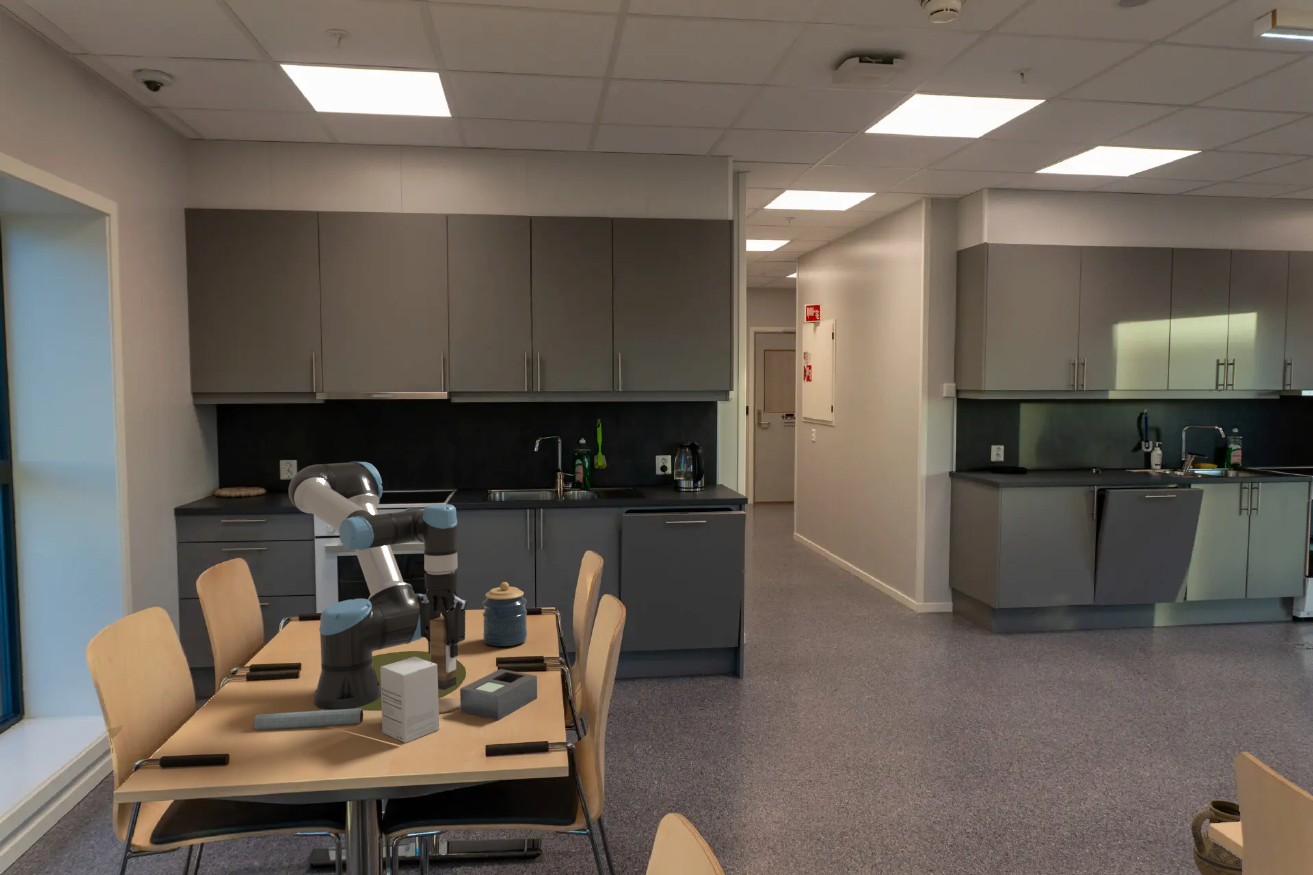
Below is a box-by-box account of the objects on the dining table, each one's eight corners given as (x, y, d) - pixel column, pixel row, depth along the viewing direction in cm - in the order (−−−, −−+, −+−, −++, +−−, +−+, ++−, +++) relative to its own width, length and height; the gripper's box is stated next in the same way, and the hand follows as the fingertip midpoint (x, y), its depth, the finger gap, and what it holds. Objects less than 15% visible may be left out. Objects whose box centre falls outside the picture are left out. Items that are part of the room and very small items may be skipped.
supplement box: (416, 719, 186) (415, 655, 185) (440, 730, 180) (438, 663, 179) (380, 732, 179) (378, 665, 178) (404, 743, 173) (402, 674, 172)
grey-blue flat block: (253, 733, 180) (252, 718, 180) (263, 721, 186) (262, 706, 186) (360, 726, 183) (360, 711, 183) (366, 714, 190) (366, 700, 189)
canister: (522, 632, 253) (521, 575, 252) (531, 644, 241) (530, 585, 240) (479, 636, 248) (479, 579, 247) (487, 649, 236) (486, 589, 235)
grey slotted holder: (537, 697, 198) (536, 675, 198) (498, 720, 185) (498, 696, 185) (500, 690, 203) (500, 668, 203) (460, 711, 190) (460, 688, 190)
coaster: (445, 715, 188) (445, 713, 188) (418, 709, 191) (418, 707, 191) (468, 703, 195) (468, 701, 195) (442, 698, 198) (442, 695, 198)
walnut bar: (444, 690, 190) (443, 622, 189) (431, 687, 192) (429, 620, 191) (456, 684, 193) (455, 617, 193) (443, 681, 195) (441, 615, 194)
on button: (504, 695, 192) (504, 685, 192) (491, 702, 188) (491, 692, 188) (488, 692, 194) (488, 682, 194) (475, 699, 190) (475, 688, 190)
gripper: (480, 571, 191) (482, 669, 192) (424, 564, 198) (427, 659, 200) (458, 577, 184) (461, 679, 185) (402, 570, 192) (404, 668, 193)
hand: (443, 668), depth 192 cm, fingers closed on walnut bar, 4 cm apart
